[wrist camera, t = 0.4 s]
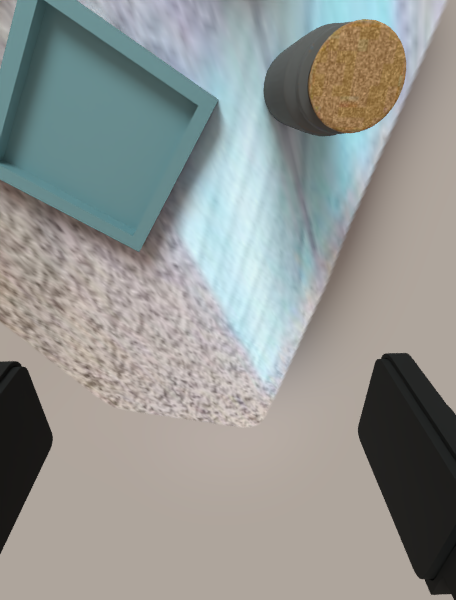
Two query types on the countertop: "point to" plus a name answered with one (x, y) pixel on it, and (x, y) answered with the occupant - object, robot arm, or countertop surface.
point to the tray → (93, 119)
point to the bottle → (337, 78)
